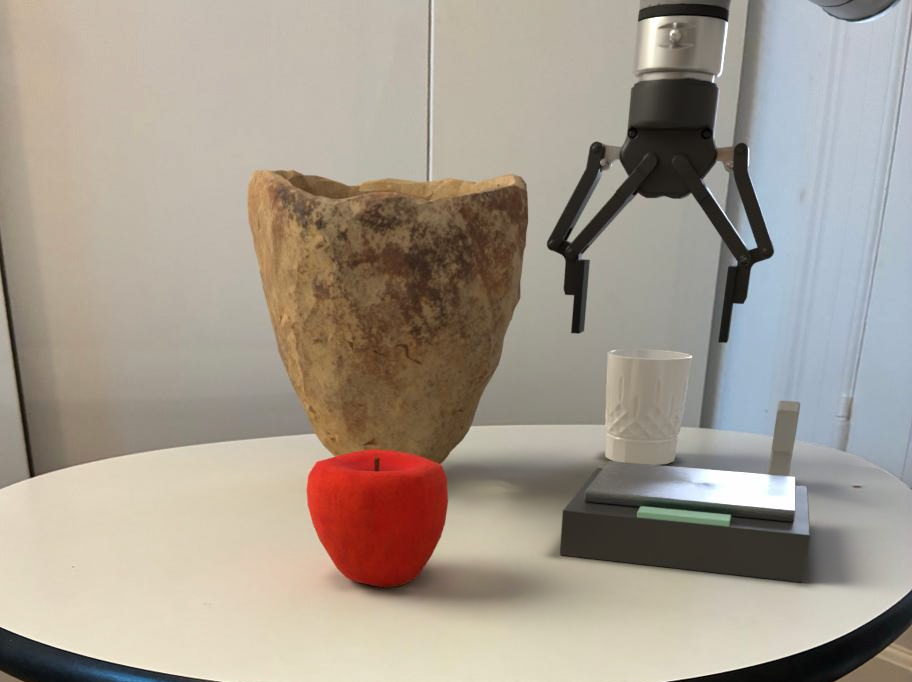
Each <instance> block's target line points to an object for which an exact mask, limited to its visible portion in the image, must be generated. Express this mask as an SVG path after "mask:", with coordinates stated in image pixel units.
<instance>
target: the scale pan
mask: <svg viewBox="0 0 912 682" xmlns="http://www.w3.org/2000/svg"><path fill="white" fill-rule="evenodd" d="M795 485H796V476H789V477H788V476H777V475H768V474H766V473H765V474H764V473H753V472H742V471H731V470H730V471H729V470H719V469H718V470H717V469H707V468H694V467H684V466H672V465H671V466H669V465H649V464H638V463H626V462H615V461H612V460H609V461H608V462H607V463H606V464H605V465H604V467H603V469H602V471H601V472H600V473H599V474H598V476H597V477H596V478H595V480H594V481H593V482H592V483H591V485H590V486H589V487H588V488H587V490H586V491H585V500H584V501H585V502H593V503H603V504H614V505H624V506H634V507H641V506H645V507H655V508H665V509H676V510H686V511H696V512H706V513H717V514H727V515H731V516H736V517H746V518H756V519H766V520H776V521H787V522H794V518H795V512H796V498H795Z"/></svg>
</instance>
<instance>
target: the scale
mask: <svg viewBox="0 0 912 682" xmlns="http://www.w3.org/2000/svg"><path fill="white" fill-rule="evenodd" d="M603 468H604V467H603ZM603 468H602V467H598V468H596V470H594V472H593V473H592V474H591V475H590V477H589V478H588V479H587V480H586V481H585V483H584V484H583V485H582V487H581V488H580V489H579V490H578V491H577V493H576V494H575V495H574V496H573V498H572V499H571V500H570V501H569V502H568V503H567V505H566V506H565V508H564V509H562V514H561V515H562V516H561V532H560V542H559V543H560V545H559V556H566V557H576V558H585V559H593V560H601V561H610V562H619V563H627V564H636V565H646V566H653V567H654V566H655V567H663V568H672V569H678V570H679V569H681V570H690V571H696V572H697V571H698V572H705V573H706V572H707V573H716V574H723V575H732V576H733V575H734V576H740V577H750V578H760V579H767V580H768V579H769V580H776V581H787V582H793V583H803V582H804V576H805V568H806V562H807V557H808V550H809V546H810V539H811V529H810V528H811V527H810V526H811V525H810V510H809V509H810V508H809V489H808V486H806V485H796V484H795V498H796V512H795V518H794V522H787V521H776V520H766V519H756V518H746V517H736V516H731V515H727V514H717V513H706V512H696V511H686V510H676V509H665V508H655V507H645V506H641V507H634V506H624V505H614V504H603V503H593V502H585V501H584V500H585V491H586V490H587V488H588V487H589V486H590V485H591V483H592V482H593V481H594V480H595V478H596V477H597V476H598V474H599V473H600V472H601V471H602V469H603Z"/></svg>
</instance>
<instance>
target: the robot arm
mask: <svg viewBox="0 0 912 682" xmlns="http://www.w3.org/2000/svg"><path fill="white" fill-rule="evenodd" d="M808 1H809V2H810V3H812V4H814V5H817V6H818V7H820V8H821V9H822V11H823V12H825V13H826V14H827V15H828V16H830V17H832V18H833V19H837V20H841V21H844V22H847V23H855V24H859V23H860V24H864V23H869V22H873V21H877V20H878V19H880V18H883V17H884V16H886V15H887V14H889V13H890V12H891V11H892V10H894V8H895V7H897V5H898V4H900V2H901V1H902V0H808ZM731 2H732V0H639V9H638V15H637V25H636V35H635V45H634V53H633V54H634V55H633V63H632V64H633V65H632V74H633V75H634V76H635V78H638V81H637V82H635V83H634V84H633V86H632V87H631V88H630V99H629V107H628V109H629V110H628V120H627V131H626V136H625V140H624V143H623V144H622V146H616V145H609V144H605V143H603V142H600V141H594V142H592V143H591V144H590V146H589V149H588V150H589V151H588V155H587V161H586V166H585V169H584V171H583V173H582V175H581V177H580V179H579V181H578V183H577V184H576V187H575V188H574V190H573V192H572V194H571V196H570V197H569V199H568V201H567V203H566V205H565V206H564V209H563V211H562V213H561V214H560V217H559V218H558V220H557V222H556V224H555V226H554V227H553V230H552V231H551V234H550V235H549V237H548V239H547V241H546V247H547V249H548V250H549V251H552V252H554V253H557V254H560V255H561V256H562V257H563V258H564V262H565V263H564V275H563V276H564V279H563V291H564V295H565V296H573V304H572V315H571V316H572V317H571V328H570V329H571V330H570V334H576V335H577V334H578V335H579V334H581V333H583V332H585V325H586V323H585V322H586V314H587V313H586V312H587V300H588V289H589V277H590V275H589V274H590V263H591V259H586V258H585V259H583V258H582V257H583V254H585V253H586V251H587V250H588V249H589V248H590V247H591V246H592V244H593V243H594V242H595V241H596V240H597V239H598V238H599V237H600V236H601V234H603V232H604V231H605V230H606V229H607V228H608V227H609V226H610V224H611V223H612V222H613V221H614V220H616V218H617V217H618V216H619V215H620V213H621V212H622V211H623V210H624V209H625V208H626V206H628V204H630V203H631V202H632V201H633V200H634V199H635V198H636V196H637V195H638V194H639V195H640V196H641V197H644V198H645V199H659V198H663V197H666V198H669V199H673V200H683V199H685V198H688V197H689V196H690V195H692V196H693V198H694V199H695V201H696V202H697V204H698V205H699V206H700V208H701V209H702V211H703V212H704V214H705V215H706V217H707V218H708V220H709V221H710V223H711V224H712V226H713V228H714V229H715V230H716V232H717V233H718V235H719V236H720V238H721V239H722V241H723V243H724V244H725V246H726V247H727V248H728V250H729V252H730V253H731V254H732V256H733V257H734V259H735V261H736V262H737V263H736V265H728V266H727V272H726V273H727V274H726V281H725V289H724V290H725V291H724V295H723V304H722V310H721V319H720V325H719V334H718V343H723V344H724V343H725V344H728V341H729V338H730V333H731V332H730V331H731V324H732V317H733V308H734V304H735V305H744V304H745V302H746V300H747V299H748V294H749V286H750V280H751V273H752V268H753V266H754V265H755V264H756V263H760V262H763V261H766V260H769V259H771V258H772V257H773V256H774V254H775V247H774V243H773V241H772V238H771V234H770V232H769V228H768V225H767V222H766V220H765V216H764V213H763V211H762V207H761V205H760V201H759V199H758V196H757V192H756V189H755V186H754V184H753V180H752V178H751V174H750V148H749V146H748V144H746V143H745V142H740V143H739V142H738V143H737V144H736V145H732V146H723V147H722V146H721V147H717V146H716V141H715V132H716V124H717V116H718V108H719V107H718V106H719V99H720V93H721V88H720V87H719V84H718V83H716V82H714V81H715V79H716V78H719V77H720V76H721V75H722V73H723V68H724V60H725V59H724V58H725V51H726V43H727V35H728V27H729V17H730V8H731ZM616 161H619V162H620V164H621V165H622V167H623V169H624V171H625V173H626V175H627V178H626V179H625V180H624V181H623V182H622V184H620V186H619V187H618V188H617V189H616V191H615V192H614V193H613V195H612V196H611V197H610V198H609V199H608V200H607V202H606V203H604V205H603V206H602V207H601V209H599V211H598V212H597V213H596V214H595V215H594V216H593V217H592V218H591V220H590V221H589V222H588V223H587V224H586V225H585V227H584V228H583V229H581V231H580V232H579V233H578V235H577V236H576V237H575V238H574V239H572V241H570V240H569V238H570V236H571V234H572V232H573V231H574V229H575V227H576V225H577V223H578V222H579V219H580V218H581V216H582V214H583V212H584V210H585V208H586V206H587V204H589V201H590V199H591V198H592V195H593V194H594V192H595V190H596V188H597V186H598V185H599V182H600V180H601V178H602V176H603V173H604V172H605V171H606V172H607V171H609V170H610V169H612V167H613V164H614V163H615V162H616ZM717 162H720V163H722V164H723V167H724V169H725V171H726V172H727V173H729V174H733V177H734V182H735V185H736V188H737V191H738V194H739V197H740V199H741V203H742V205H743V209H744V212H745V215H746V218H747V221H748V224H749V226H750V230H751V233H752V236H753V238H754V241H755V244H756V247H754V248H751V249H749V247H748V246H747V245H746V243H745V241H744V240H743V238H742V237H741V236H740V234H739V232H738V231H737V229H736V228H735V226H734V225H733V224H732V222H731V220H730V219H729V217H728V216H727V214H726V213H725V212H724V210H723V208H722V206H721V205H720V204H719V203H718V201H717V199H716V198H715V196H714V195H713V193H712V191H711V190H710V188H709V187H708V185H707V183H706V182H705V180H704V178H705V177H706V176H707V175H708V174H709V172H710V171H711V170H712V168H714V166H715V165H716V163H717Z"/></svg>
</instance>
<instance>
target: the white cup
mask: <svg viewBox="0 0 912 682" xmlns="http://www.w3.org/2000/svg"><path fill="white" fill-rule="evenodd" d="M692 362H693V355H692V354H690V353H687V352H681V351H675V350H667V349H653V348H651V349H650V348H621V349H620V348H619V349H612V350H609V351H607V355H606V383H605V384H606V385H605V387H606V388H605V411H604V415H605V418H604V419H605V425H604V429H605V431H606V432H605V458H606V459H608V460H609V461H615V462H626V463H638V464H649V465H661V466H664V465H668V464H670V463H671V464H672V463H673V462H674V461H675V460H676V459H675V458H676V453H677V445H678V439H679V437H678V435H679V434H680V432H681V427H682V422H683V417H684V412H685V407H686V399H687V393H688V386H689V380H690V379H689V378H690V373H691V369H692V368H691V367H692Z"/></svg>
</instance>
